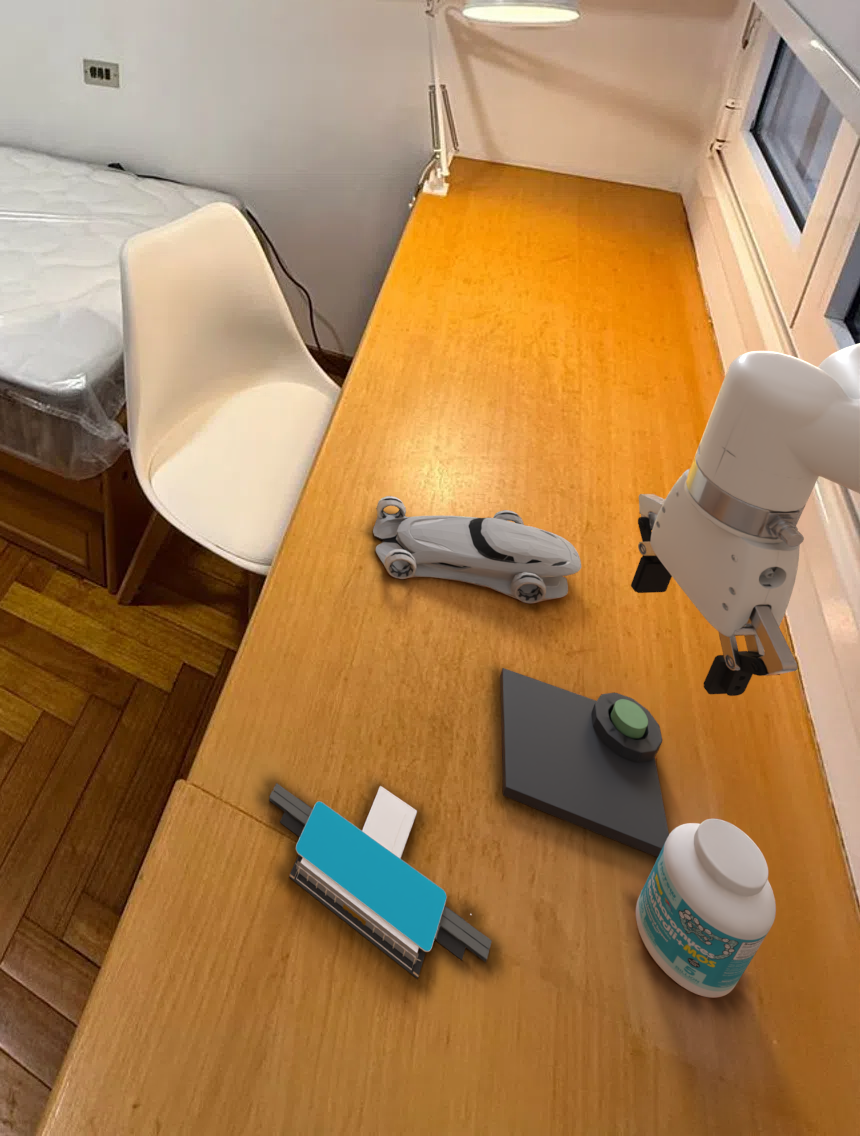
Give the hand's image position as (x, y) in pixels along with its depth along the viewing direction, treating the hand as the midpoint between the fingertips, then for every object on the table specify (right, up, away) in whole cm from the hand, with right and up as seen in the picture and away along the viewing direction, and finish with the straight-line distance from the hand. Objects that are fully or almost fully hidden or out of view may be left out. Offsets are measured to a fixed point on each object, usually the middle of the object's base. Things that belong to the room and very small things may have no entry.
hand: (682, 637), depth 76 cm
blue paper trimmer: (-28, -21, +1) cm, 35 cm away
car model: (-5, -9, +32) cm, 33 cm away
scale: (-5, -18, +9) cm, 21 cm away
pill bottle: (-3, -24, -4) cm, 24 cm away
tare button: (+1, -15, +10) cm, 18 cm away
